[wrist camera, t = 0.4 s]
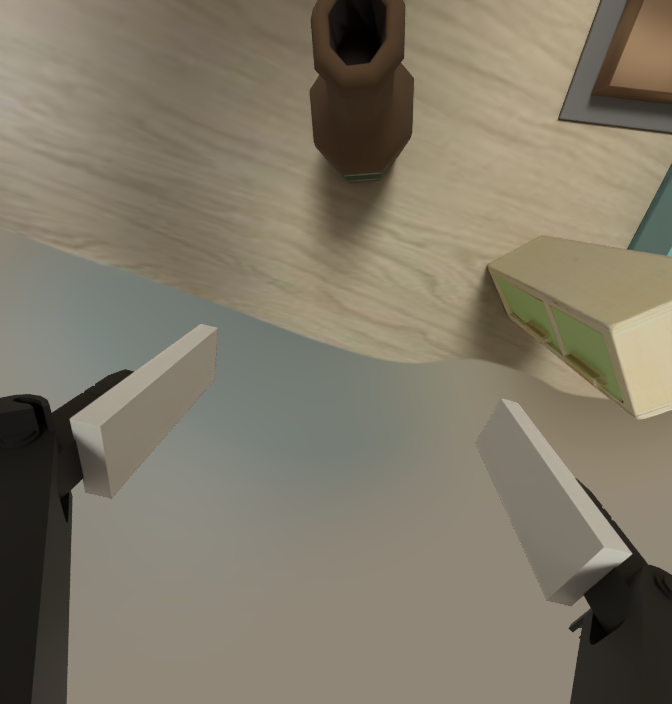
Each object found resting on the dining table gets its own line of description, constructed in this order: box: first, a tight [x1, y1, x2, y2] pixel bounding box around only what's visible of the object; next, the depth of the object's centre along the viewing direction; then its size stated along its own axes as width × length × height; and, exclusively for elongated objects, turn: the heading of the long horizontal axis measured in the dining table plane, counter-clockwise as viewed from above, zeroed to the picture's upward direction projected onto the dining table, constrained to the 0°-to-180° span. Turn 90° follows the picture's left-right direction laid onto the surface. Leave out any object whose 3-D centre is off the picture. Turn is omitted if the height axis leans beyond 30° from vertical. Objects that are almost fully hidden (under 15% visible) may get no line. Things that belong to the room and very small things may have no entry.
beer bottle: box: [310, 0, 414, 183], centre depth 21 cm, size 8×8×24 cm
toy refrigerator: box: [487, 236, 672, 419], centre depth 27 cm, size 8×7×21 cm
